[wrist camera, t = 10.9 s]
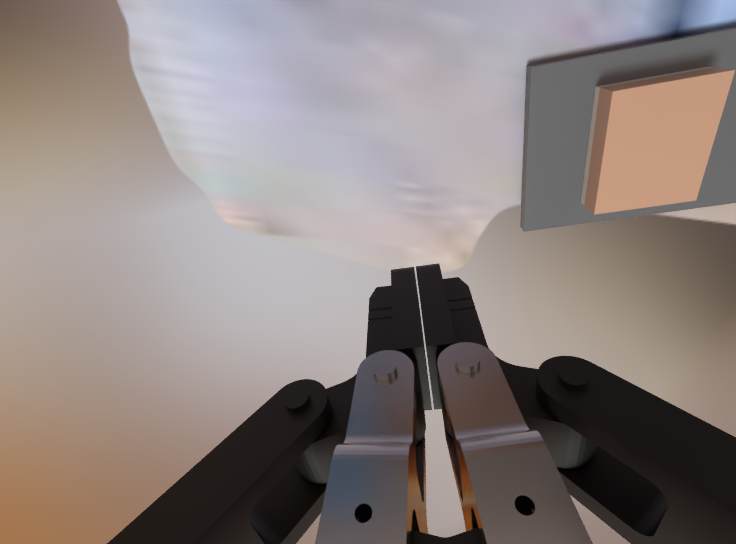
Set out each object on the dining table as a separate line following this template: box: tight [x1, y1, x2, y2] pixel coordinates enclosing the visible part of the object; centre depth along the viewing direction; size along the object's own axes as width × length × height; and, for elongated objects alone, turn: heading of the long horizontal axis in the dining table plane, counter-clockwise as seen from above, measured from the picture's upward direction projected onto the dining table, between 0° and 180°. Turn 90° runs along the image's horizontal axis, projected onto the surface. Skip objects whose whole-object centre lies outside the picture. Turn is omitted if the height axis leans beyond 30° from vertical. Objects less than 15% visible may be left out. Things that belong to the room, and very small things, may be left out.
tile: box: [581, 66, 735, 215], centre depth 35 cm, size 11×3×9 cm
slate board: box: [521, 26, 736, 231], centre depth 36 cm, size 16×22×1 cm
